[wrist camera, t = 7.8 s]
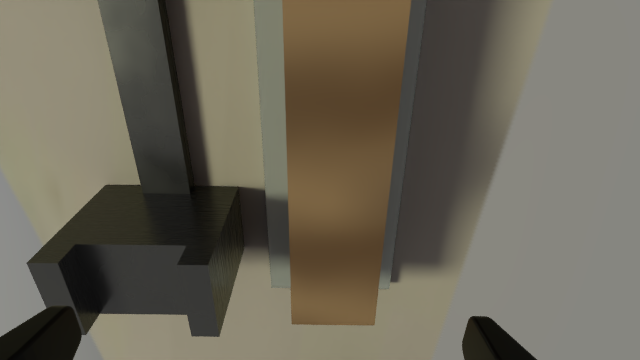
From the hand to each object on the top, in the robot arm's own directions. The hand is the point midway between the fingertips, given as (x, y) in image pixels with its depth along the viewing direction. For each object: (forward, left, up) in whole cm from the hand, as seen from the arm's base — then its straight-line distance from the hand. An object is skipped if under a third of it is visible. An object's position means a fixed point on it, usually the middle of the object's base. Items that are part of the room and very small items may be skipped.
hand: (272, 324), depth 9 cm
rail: (+2, -3, -11) cm, 12 cm away
